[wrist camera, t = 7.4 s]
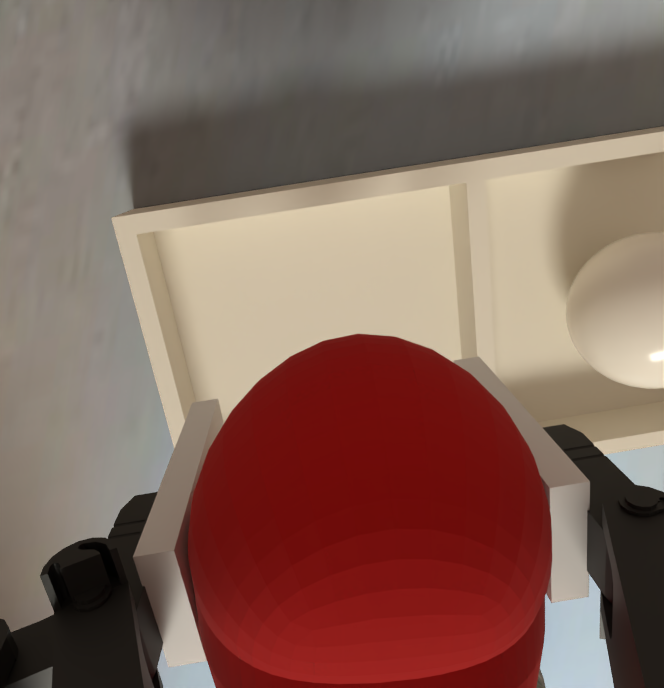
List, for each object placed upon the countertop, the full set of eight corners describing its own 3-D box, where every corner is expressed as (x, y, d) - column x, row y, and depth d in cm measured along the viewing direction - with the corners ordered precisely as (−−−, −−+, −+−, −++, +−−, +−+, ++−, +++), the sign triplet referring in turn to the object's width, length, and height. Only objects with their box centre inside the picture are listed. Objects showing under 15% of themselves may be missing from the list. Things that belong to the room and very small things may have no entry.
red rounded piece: (207, 268, 16) (79, 455, 6) (458, 253, 16) (700, 411, 6) (240, 545, 19) (189, 952, 9) (449, 528, 19) (605, 904, 10)
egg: (542, 366, 26) (614, 428, 20) (539, 234, 24) (618, 261, 18) (671, 345, 26) (779, 400, 20) (679, 212, 24) (802, 232, 18)
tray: (204, 484, 27) (194, 523, 24) (133, 209, 23) (111, 217, 20) (733, 395, 28) (784, 424, 25) (762, 110, 23) (828, 105, 20)
